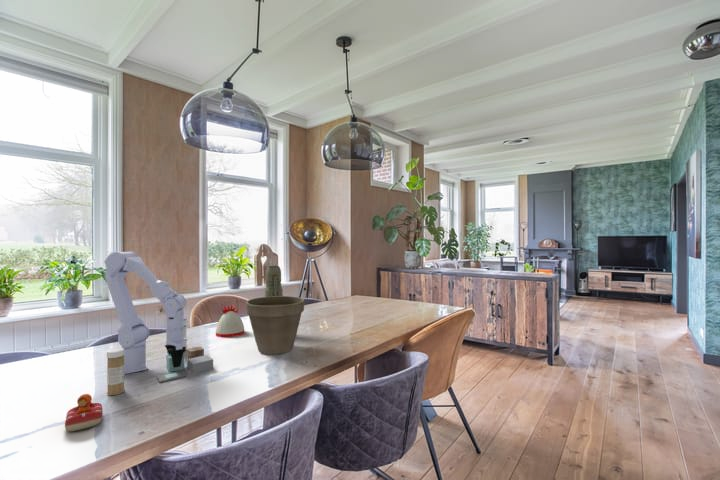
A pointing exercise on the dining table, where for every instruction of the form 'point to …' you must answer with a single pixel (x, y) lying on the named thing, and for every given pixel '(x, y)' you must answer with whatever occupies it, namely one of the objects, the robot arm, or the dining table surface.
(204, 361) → the grey block
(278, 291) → the green cactus
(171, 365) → the teal block
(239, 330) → the white domed piece
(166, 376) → the card
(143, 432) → the dining table surface
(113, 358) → the sprinkles bottle
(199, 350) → the walnut block
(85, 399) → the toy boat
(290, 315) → the plant pot
